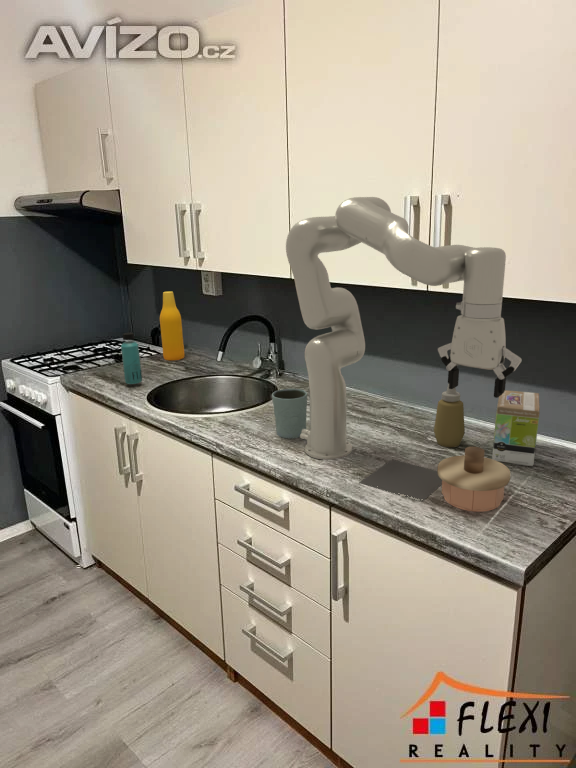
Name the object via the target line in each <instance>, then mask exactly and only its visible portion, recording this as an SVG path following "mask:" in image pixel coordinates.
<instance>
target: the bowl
mask: <svg viewBox="0 0 576 768" xmlns="http://www.w3.org/2000/svg"><path fill="white" fill-rule="evenodd" d="M505 487H506V486H504V487H502V488H500V489H496V490H489V491H474V490H467V489H462V488H458V487H455V486H452V485H450V484H448V483H446V482H444V481H443V480H442V485H441V494H442V495H443V498H444V500H445V501H446V503H448V505H451V506H453V507H454V508H456V509H459V510H460V509H461V510H463V511H468V512H478V513H479V512H488V511H489V512H490V511H493V510H495V509H497V508H499V506H500V505H501V503H502V501H503V500H504V496H505Z"/></svg>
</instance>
